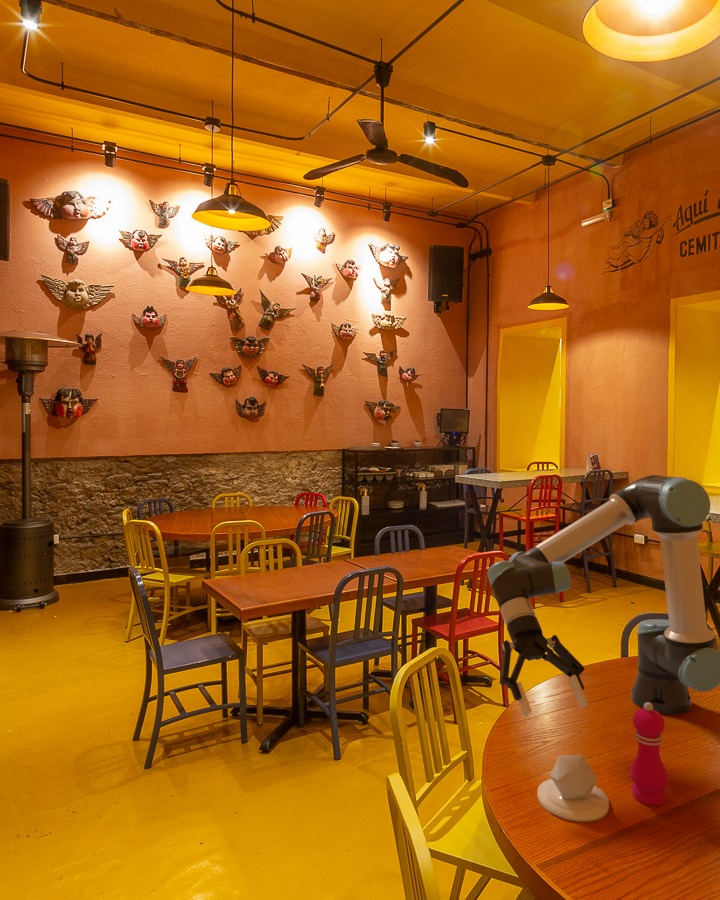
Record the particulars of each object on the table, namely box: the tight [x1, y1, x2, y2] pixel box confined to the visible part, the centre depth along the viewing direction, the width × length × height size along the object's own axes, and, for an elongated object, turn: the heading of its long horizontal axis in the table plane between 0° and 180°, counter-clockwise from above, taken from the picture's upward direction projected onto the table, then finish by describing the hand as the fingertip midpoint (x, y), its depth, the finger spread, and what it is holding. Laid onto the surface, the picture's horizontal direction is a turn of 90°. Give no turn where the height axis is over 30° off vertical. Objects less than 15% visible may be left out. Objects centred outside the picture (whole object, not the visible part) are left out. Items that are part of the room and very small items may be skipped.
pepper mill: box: [629, 702, 669, 807], centre depth 130 cm, size 7×7×20 cm
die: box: [549, 754, 598, 800], centre depth 129 cm, size 8×9×10 cm
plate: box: [537, 778, 610, 823], centre depth 129 cm, size 14×14×1 cm
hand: (556, 710), depth 135 cm, fingers open, 13 cm apart
